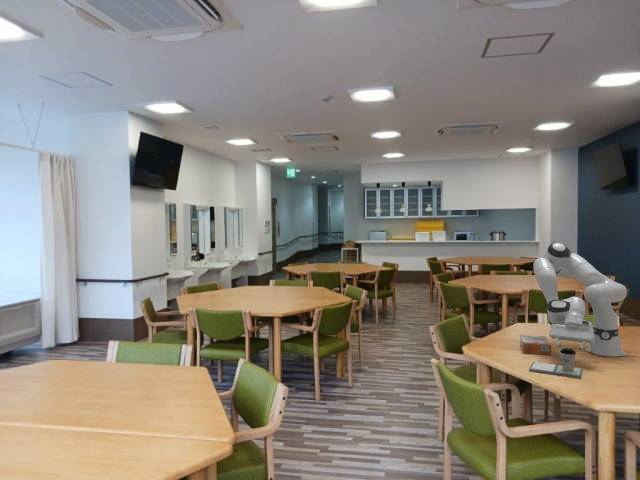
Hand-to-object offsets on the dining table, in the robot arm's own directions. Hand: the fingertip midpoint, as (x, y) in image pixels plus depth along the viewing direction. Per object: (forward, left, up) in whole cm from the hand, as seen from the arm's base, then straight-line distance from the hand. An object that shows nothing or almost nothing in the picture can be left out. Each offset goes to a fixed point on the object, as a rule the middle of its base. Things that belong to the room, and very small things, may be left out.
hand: (569, 347), depth 227 cm
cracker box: (-15, -17, -7) cm, 24 cm away
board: (+11, -5, -10) cm, 16 cm away
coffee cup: (+11, 0, -9) cm, 14 cm away
